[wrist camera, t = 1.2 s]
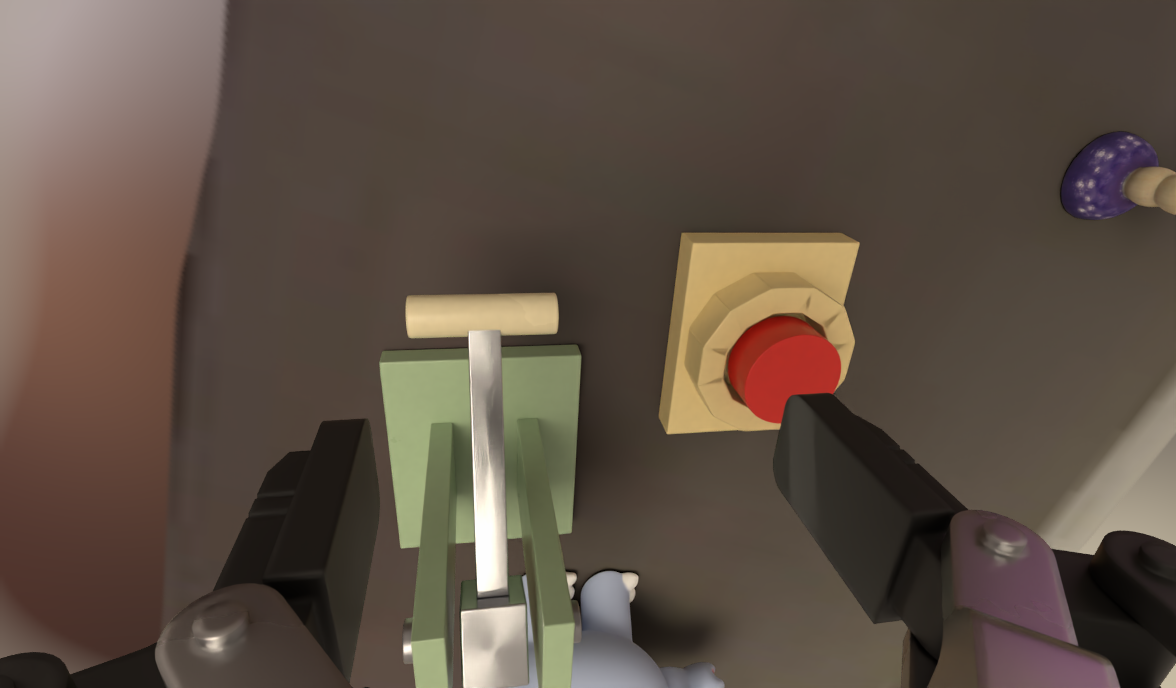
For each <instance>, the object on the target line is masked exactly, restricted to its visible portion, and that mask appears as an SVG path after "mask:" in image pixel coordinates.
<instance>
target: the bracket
mask: <svg viewBox="0 0 1176 688" xmlns="http://www.w3.org/2000/svg"><path fill="white" fill-rule="evenodd" d="M501 349H502V381H503V413H504V445H505V477H506V509H507V539H512V538H522V542H523V551H524V560H525V569H526V578H527V587H528V597H529V606H530V615H531V624H532V633H533V642H534V652H535V661H536V670H537V679H538V688H571V679H572V664H573V648H574V643H579V642H581V638H582V624H581V614H580V608H579V604H578V602H577V600H571V598H570V593H569V587H568V582H567V576H566V571H565V565H564V560H563V554H562V549H561V543H560V538H559V534H568V533H572V521H573V503H574V484H575V466H576V448H577V429H578V411H579V392H580V374H581V354H580V351H579V348H578V345H548V346H518V347H501ZM379 366H380V375H381V383H382V392H383V400H384V409H385V418H386V426H387V435H388V443H389V452H390V461H391V469H392V478H393V486H394V495H395V504H396V512H397V521H398V530H399V538H400V547H401V548H412V547H419V558H418V569H417V580H416V591H415V601H414V612H413V618H407V619H405V621H404V625H403V636H402V653H403V661H404V663H405V664H410V663H413V666H414V674H415V683H416V688H453V644H454V599H455V553H456V543H468V542H475V537H474V507H473V477H472V447H471V417H470V387H469V357H468V348H457V349H427V350H396V351H383V352H382V355H381V359H380V363H379Z"/></svg>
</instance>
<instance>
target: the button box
mask: <svg viewBox="0 0 1176 688" xmlns="http://www.w3.org/2000/svg"><path fill="white" fill-rule="evenodd" d="M859 244H860V243H859V242H857V241H855V240H853V239H852V238H850V237H848V236H846V235H844V234H842V233H682V234H681V242H680V250H679V258H678V266H677V274H676V282H675V290H674V298H673V306H672V314H671V322H670V330H669V338H668V346H667V354H666V362H665V369H664V377H663V385H662V393H661V401H660V409H659V419H660V421H661V423H662V425H663V427H664V429H665V431H666V433H667V434H679V433H696V432H712V431H728V430H741V431H758V430H774V429H780V426H781V424H777V423H771V422H767V421H764V420H762V419H760V418H758V417H757V416H756V415H754V414H753V413H752V411H751V410H750V409H749V408H748V406H747V405H746V404H745V402H744V401H743V400H742V398H741V397H740V396H739V394H738V393H737V392H736V390H735V389H734V388H733V386H732V384H731V382H730V380H729V376H728V361H729V357H730V354H731V351H732V349H733V347H734V346H735V344H736V342H737V341H738V340H739V338H740V337H741V336H742V335H743V334H744V333H745V332H746V331H747V330H748V329H750V328H751V327H752V326H754V325H756V324H757V323H759V322H761V321H763V320H766V319H769V318H772V317H777V316H791V317H796V318H799V319H801V320H803V321H805V322H807V323H808V324H809V325H810V326H812V327H813V328H814V329H815V330H816V331H817V332H819V333H820V334H821V335H822V336H823V337H824V338H826V339H827V340H828V341H829V342H830V343H831V344H832V345H833V346H834V347H835V348H836V350H837V351H838V354H839V356H840V360H841V376H840V380H839V383H838V385H837V387H836V389H837V388H838V387H839V385H840V384H841V383H842V382H843V381H844V380H845V379H844V378H845V377H846V373H847V370H848V366H849V362H850V359H851V355H852V352H853V348H854V345H855V339H854V335H853V332H852V329H851V326H850V323H849V319H848V316H847V313H846V310H845V308H844V306H843V305H844V301H845V297H846V294H847V290H848V286H849V282H850V278H851V275H852V271H853V267H854V263H855V259H856V256H857V252H858V248H859ZM836 389H835V390H836Z"/></svg>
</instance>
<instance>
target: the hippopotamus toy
mask: <svg viewBox="0 0 1176 688" xmlns="http://www.w3.org/2000/svg"><path fill="white" fill-rule="evenodd" d="M566 576H567V582H568V587H569V593H570V598H571V599H572V598H573V596H574V592H575V590H574V587H573V586H572V585H573V584H574V583H575V581H576V579H577V575H576V574H575V573H573V572H566ZM522 580H523V585H524V591H525V596H526V602H527V621H528V654H529V684H528V685H524V686H517V687H509V688H538V679H537V670H536V661H535V652H534V642H533V633H532V624H531V615H530V606H529V597H528V587H527V578H526V574H525V575H524V576H523V577H522ZM637 583H638V575H636V574H634V573H631V572H626V573H619V572H616V571H604V572H600V573H598V574H596V575H594V576H593V577H591V578H590V579H589V580H588V581H587V582H586V583H585V585H584V586H583V588H582V591H581V624H582V638H581V642H579V643H574V648H573V664H572V679H571V688H724V682H723V681H722V680H721V679H719V678H717V677H716V676H715V675H714V672H715V667H714V665H712V664H711V663H708V662H698V663H694V664H691V665H688V666H686V667H685V668H683V669H682V668H678V667H662V668H659V667H658V666H657V664H656V663H655V662H654V660H653V659H652V658H651V657H650V656H649V655H648V654H647V653H646V652H645V651H644V650H643V649H642V648H640V647H639V646H638V645H636V644H635V643H633V641H632V629H631V616H630V602H631V601H633V599H634V597H635V589H634V588H635V587H636V585H637Z"/></svg>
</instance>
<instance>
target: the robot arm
mask: <svg viewBox="0 0 1176 688" xmlns="http://www.w3.org/2000/svg"><path fill="white" fill-rule="evenodd" d="M914 461H915V460H914V459H913V458H912V457H911V456H910V455H909V454H908V453H907V452H905V451H904V450H900V446H899V445H898V444H897V443H896V442H895V441H894V440H893V439H891V438H890V437H889V436H888V435H887V434H886V433H885V432H884V431H883V430H882V429H880V428H878V427H876V426H875V425H873V424H871V423H869V422H867V421H866V420H864V419H862V418H860V417H859V416H857V415H856V416H855V415H854V414H853V413H852V412H851V411H850V410H849V409H848V408H847V407H845V406H844V405H843V404H842V403H841V402H840V401H839V400H838V399H837V398H836V397H835V396H834V395H833V394H831V393H814V394H797V395H792V396H790V397H789V398H788V400H787V401H786V404H785V408H784V412H783V417H782V421H781V426H780V430H779V435H778V440H777V444H776V449H775V453H774V458H773V471H774V477H775V481H776V483H777V486H778V488H779V489H780V491H781V493H782V494H783V495H784V497H785V498H786V500H787V501H788V502H789V504H790V505H791V507H792V508H793V510H794V511H795V512H796V514H797V515H798V517H799V518H800V520H801V521H802V522H803V524H804V525H805V527H806V528H807V530H808V531H809V532H810V534H811V535H812V537H813V538H814V540H815V541H816V542H817V544H818V545H819V547H820V548H821V549H822V551H823V552H824V554H825V555H826V557H827V558H828V559H829V561H830V562H831V564H832V565H833V567H834V568H835V569H836V571H837V572H838V574H839V575H840V577H841V578H842V579H843V581H844V582H845V584H846V585H847V587H848V588H849V589H850V591H851V592H852V594H853V595H854V597H855V598H856V599H857V601H858V602H859V604H860V605H861V606H862V608H863V609H864V611H865V612H866V614H867V615H868V616H869V618H870V619H871V621H872V622H873V624H877V623H884V622H892V621H899V620H903V621H904V623H905V624H906V625H907V627H908V630H907V632H906V635H905V637H904V640H903V651H902V675H901V688H1161V687H1160V685H1161V683H1162V682H1163V680H1164V679H1165V678H1166V676H1167V675H1168V673H1169V672H1170V671H1171V669H1172V668H1173V666H1174V665H1175V664H1176V546H1175V545H1173V544H1170V543H1168V542H1166V541H1164V540H1161V539H1158V538H1155V537H1153V536H1149V535H1146V534H1142V533H1137V532H1132V531H1113V532H1110V533H1108V534H1107V535H1105V536H1104V538H1103V540H1102V542H1101V544H1100V546H1099V547H1098V550H1097V551H1096V553H1095V555H1089V554H1082V553H1076V552H1069V551H1062V550H1055V549H1051V548H1050V547H1049V545H1048V544H1047V543H1046V542H1045V541H1044V540H1043V539H1042V538H1041V537H1040V536H1039V535H1037V534H1036V533H1035V532H1033V531H1032V530H1031V529H1029V528H1027V527H1026V526H1024V525H1022V524H1021V523H1019V522H1017V521H1015V520H1012V519H1010V518H1008V517H1005V516H1002V515H999V514H996V513H992V512H988V511H982V510H968V509H967V508H966V507H965V506H964V505H962V504H961V503H960V502H959V501H958V500H957V499H956V498H955V497H954V496H953V495H952V494H951V493H950V492H948V491H947V490H946V489H945V488H944V487H943V486H942V485H941V484H940V483H939V482H938V481H937V480H936V479H934V478H933V477H932V476H931V475H930V474H929V473H928V472H927V471H926V470H925V469H924V468H923V467H922V466H920V465H919V464H915V462H914ZM379 510H380V497H379V485H378V478H377V470H376V463H375V456H374V448H373V441H372V433H371V427H370V423H369V420H368V419H351V420H333V421H323V422H322V423H321V425H320V427H319V430H318V432H317V435H316V438H315V440H314V443H313V446H312V448H311V451H297V452H289V453H288V454H287V455H286V456H285V457H284V458H283V459H281V460H280V461H279V462H278V463H277V464H276V465H275V466H274V467H273V468H272V469H271V470H269V471H268V472H267V475H266V477H265V479H264V481H263V483H262V485H261V488H260V490H259V492H258V494H257V499H255V501H254V503H253V505H252V507H251V509H250V511H249V518H246V520H245V522H244V525H243V527H242V529H241V531H240V533H239V535H238V538H237V540H236V542H235V544H234V546H233V548H232V551H231V553H230V555H229V557H228V559H227V561H226V564H225V566H224V568H223V570H222V572H221V574H220V577H219V579H218V581H217V583H216V585H215V587H214V590H213V592H211V593H209V594H206V595H204V596H202V597H201V598H199V599H197V600H195V601H194V602H192V603H191V604H189V605H188V606H187V607H185V608H184V609H183V610H182V611H180V612H179V613H178V614H177V615H176V616H175V617H174V618H173V619H172V620H171V621H170V622H169V624H168V625H167V626H166V628H165V629H164V630H163V632H162V633H161V636H160V638H159V640H158V642H156V643H154V644H152V645H150V646H148V647H146V648H144V649H141V650H138V651H136V652H133V653H130V654H127V655H125V656H122V657H119V658H116V659H113V660H110V661H107V662H105V663H102V664H99V665H96V666H93V667H90V668H88V669H85V670H82V671H79V672H76V673H73V674H69V671H68V670H67V668H66V666H65V664H64V663H63V662H62V661H61V659H59V658H57V657H56V656H54V655H51V654H47V653H40V652H30V653H21V654H16V655H11V656H7V657H4V658H1V659H0V688H352V687H351V685H350V684H349V683H350V677H351V672H352V666H353V661H354V655H355V650H356V644H357V639H358V633H359V628H360V622H361V617H362V611H363V606H364V600H365V595H366V589H367V584H368V578H369V573H370V567H371V562H372V556H373V551H374V545H375V540H376V534H377V529H378V523H379ZM364 688H369V687H364Z"/></svg>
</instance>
